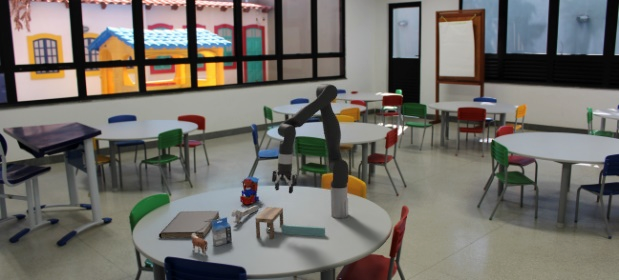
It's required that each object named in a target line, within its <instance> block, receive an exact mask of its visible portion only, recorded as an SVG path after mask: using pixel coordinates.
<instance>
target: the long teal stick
mask: <svg viewBox="0 0 619 280" xmlns="http://www.w3.org/2000/svg"><path fill="white" fill-rule="evenodd" d="M280 228H281V234H285V235H286V234H290V235H299V234H301V236H313V235H314V236H317V237H326V226H325V227H324V226H310V225H309V226H308V225H297V224H295V225H293V224H284V223H283V224H282V225H281V227H280ZM314 236H313V237H314Z"/></svg>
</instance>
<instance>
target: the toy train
mask: <svg viewBox="0 0 619 280" xmlns="http://www.w3.org/2000/svg"><path fill="white" fill-rule="evenodd" d="M240 183H242V187H243V188H242V189H243V190H241V195H240V196H239V198H240V201H239V202H240V203H242V204H243V205H249V204H254V203H255V202H256V201H258V200H259V199H260V196H258V195H257V193H258V185H259V178H257V177H254V176H249V177H248V176H247V177H245V178H244V179H243V180H242V181H241V182H240Z"/></svg>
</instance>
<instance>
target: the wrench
mask: <svg viewBox="0 0 619 280" xmlns="http://www.w3.org/2000/svg"><path fill="white" fill-rule="evenodd" d="M258 210H259V205H253V206H251V207H248V208H246V209H244V210H241V211H240V210H238V209H234V210H233V211H232V212H231V217H235V218H234V219H233V222H232V223H234V224H240V223H241V220H242V218H243V217H245V216H248V215H250V214H252V213H254V212H258Z"/></svg>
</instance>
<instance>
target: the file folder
mask: <svg viewBox="0 0 619 280" xmlns="http://www.w3.org/2000/svg"><path fill="white" fill-rule="evenodd" d="M219 211H220V210H192V211H191V210H190V211H189V210H187V211H185V210H183V211H179V213H177V214H176V216H175V217H174V218H173V219H172V220H171V221H170V222H169V223H168V224H167V225H166V226H165V227H164V228H163V229H162V231H160V233H158V237H159V238H160V237H189V235H192V234H193V233H195V234H196V235H197V234H198V236H197V237H199V238H201V239H203V238H205V236H206V235H207V234H208V232H209V231H210V228H211V229H212V221H214V220H218V217H220V212H219ZM191 237H192V236H191Z"/></svg>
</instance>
